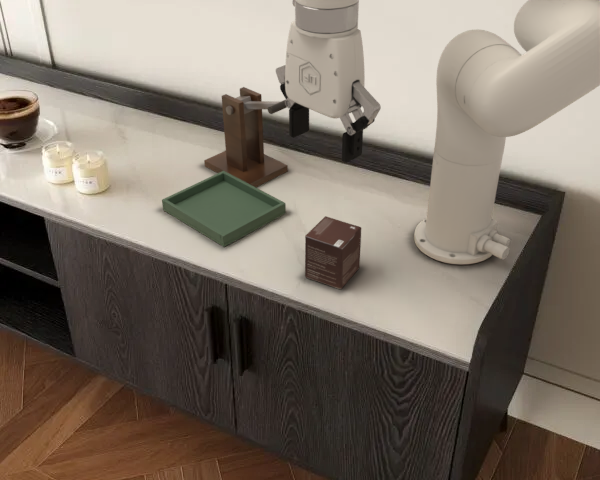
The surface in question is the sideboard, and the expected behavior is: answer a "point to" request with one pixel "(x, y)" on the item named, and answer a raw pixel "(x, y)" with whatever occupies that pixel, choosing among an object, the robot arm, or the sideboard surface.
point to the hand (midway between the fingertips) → (324, 145)
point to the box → (332, 252)
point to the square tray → (224, 207)
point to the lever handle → (261, 105)
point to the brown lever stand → (244, 144)
